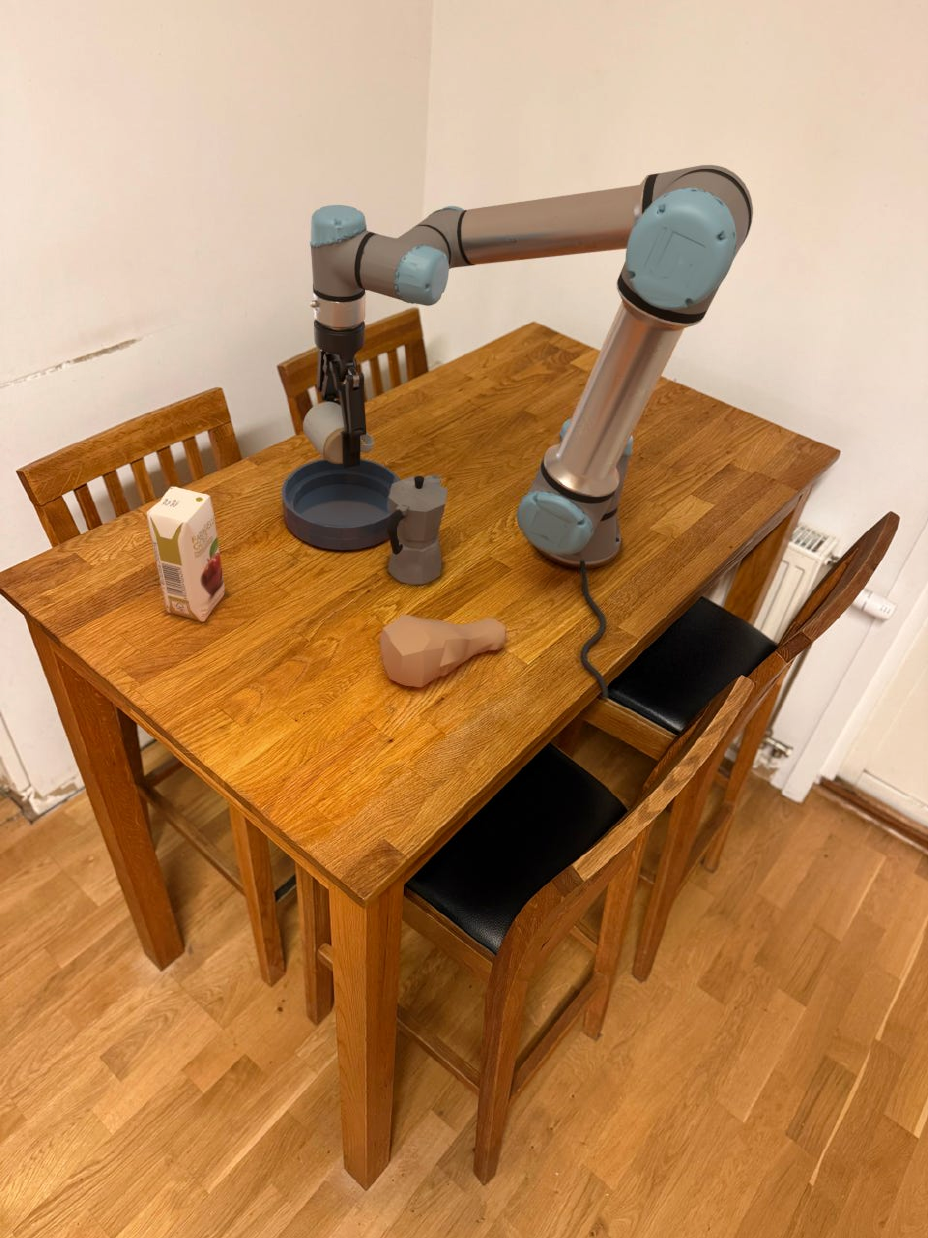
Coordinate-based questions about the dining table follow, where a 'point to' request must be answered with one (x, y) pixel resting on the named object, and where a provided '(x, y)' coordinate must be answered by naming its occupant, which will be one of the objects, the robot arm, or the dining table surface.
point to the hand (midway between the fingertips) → (341, 450)
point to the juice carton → (187, 553)
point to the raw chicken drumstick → (434, 646)
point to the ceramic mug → (330, 431)
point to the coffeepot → (416, 529)
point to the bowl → (338, 504)
